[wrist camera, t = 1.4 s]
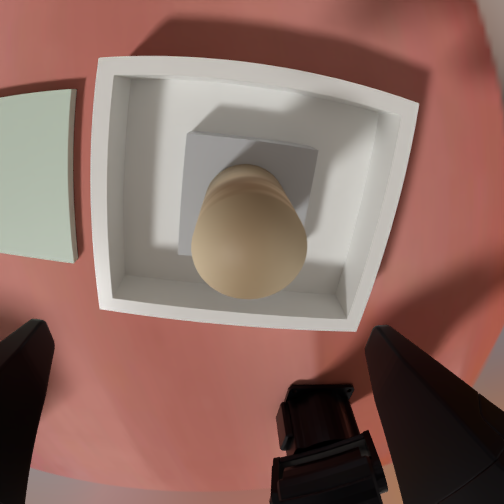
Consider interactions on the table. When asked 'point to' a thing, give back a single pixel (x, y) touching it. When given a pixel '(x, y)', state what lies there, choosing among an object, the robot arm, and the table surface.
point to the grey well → (234, 153)
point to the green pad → (38, 175)
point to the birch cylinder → (248, 234)
